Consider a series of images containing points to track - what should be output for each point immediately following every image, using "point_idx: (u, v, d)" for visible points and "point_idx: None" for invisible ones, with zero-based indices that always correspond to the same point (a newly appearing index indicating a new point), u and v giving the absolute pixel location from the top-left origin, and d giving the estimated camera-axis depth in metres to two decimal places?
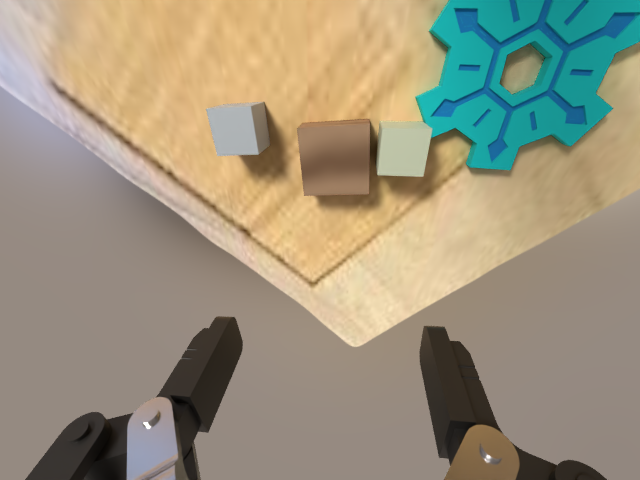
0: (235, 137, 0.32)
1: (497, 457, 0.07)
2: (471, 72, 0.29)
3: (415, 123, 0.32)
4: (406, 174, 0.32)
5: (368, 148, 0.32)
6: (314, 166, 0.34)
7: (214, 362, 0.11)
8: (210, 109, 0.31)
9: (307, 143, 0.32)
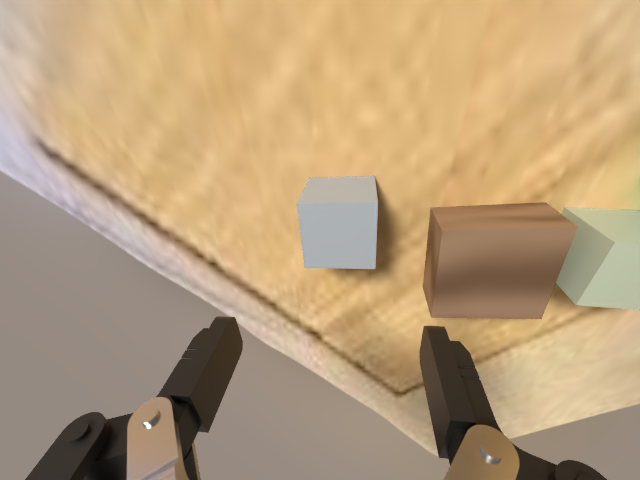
0: (340, 245, 0.19)
1: (497, 457, 0.07)
2: None
3: None
4: (628, 307, 0.19)
5: (562, 260, 0.19)
6: (458, 281, 0.21)
7: (214, 362, 0.11)
8: (304, 204, 0.18)
9: (456, 251, 0.20)
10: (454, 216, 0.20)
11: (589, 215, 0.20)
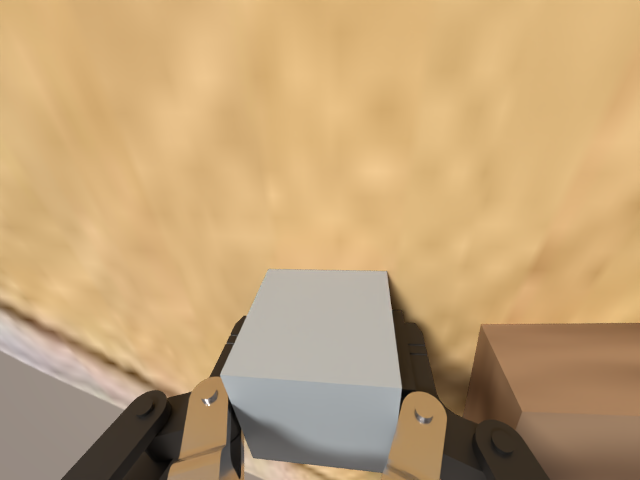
0: (318, 438, 0.09)
1: (427, 417, 0.08)
2: None
3: None
4: None
5: None
6: None
7: None
8: (236, 376, 0.08)
9: (546, 439, 0.10)
10: (534, 357, 0.11)
11: None
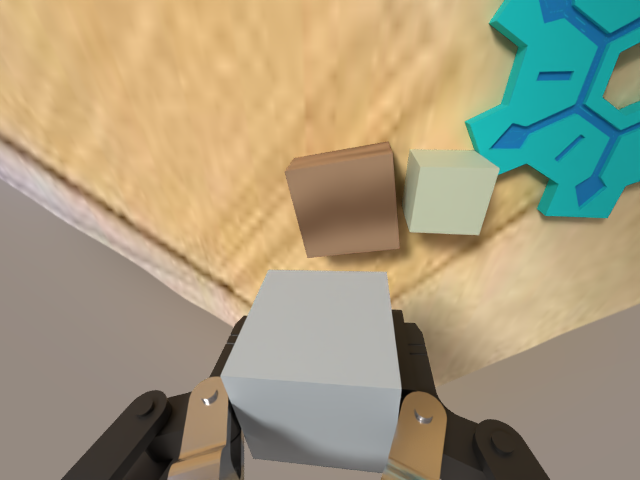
0: (318, 439, 0.09)
1: (427, 417, 0.08)
2: (558, 83, 0.19)
3: (465, 154, 0.22)
4: (453, 232, 0.21)
5: (393, 187, 0.21)
6: (316, 219, 0.23)
7: None
8: (236, 376, 0.08)
9: (303, 189, 0.22)
10: (305, 161, 0.23)
11: (424, 153, 0.22)
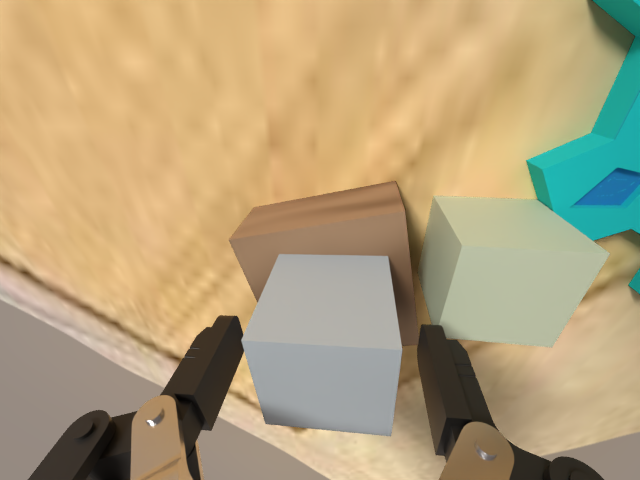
0: (326, 402, 0.10)
1: (492, 453, 0.07)
2: None
3: (527, 211, 0.13)
4: (508, 341, 0.13)
5: (407, 262, 0.13)
6: None
7: (217, 360, 0.11)
8: (255, 341, 0.09)
9: (261, 266, 0.14)
10: (266, 216, 0.15)
11: (458, 206, 0.14)
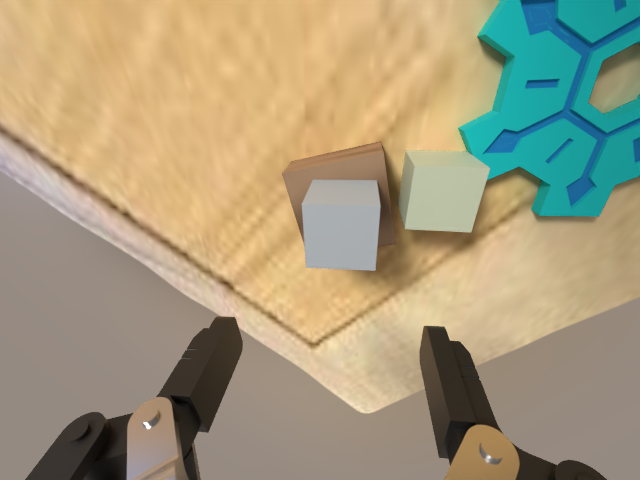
0: (341, 246, 0.20)
1: (497, 457, 0.07)
2: (545, 90, 0.20)
3: (458, 155, 0.22)
4: (446, 229, 0.22)
5: (386, 185, 0.22)
6: None
7: (214, 362, 0.11)
8: (308, 205, 0.18)
9: (300, 190, 0.23)
10: (302, 163, 0.24)
11: (418, 153, 0.23)
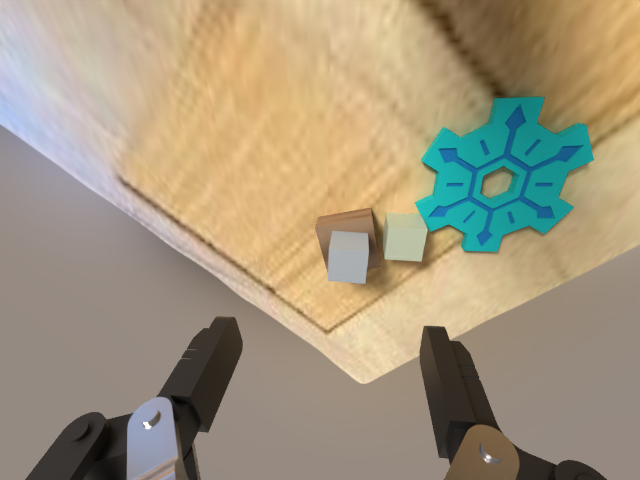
0: (348, 270, 0.37)
1: (497, 457, 0.07)
2: (457, 187, 0.38)
3: (414, 217, 0.40)
4: (407, 259, 0.40)
5: (373, 234, 0.40)
6: None
7: (214, 362, 0.11)
8: (332, 249, 0.36)
9: (325, 236, 0.41)
10: (325, 220, 0.42)
11: (392, 216, 0.41)
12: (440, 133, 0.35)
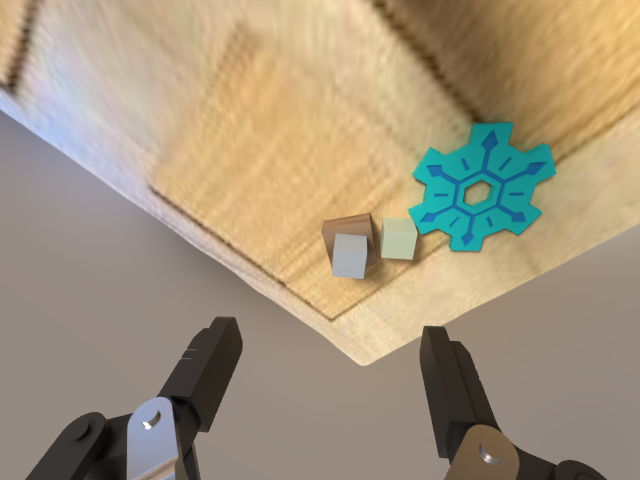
0: (349, 267, 0.44)
1: (497, 457, 0.07)
2: (443, 197, 0.44)
3: (407, 222, 0.47)
4: (400, 258, 0.46)
5: (371, 236, 0.46)
6: None
7: (214, 362, 0.11)
8: (336, 250, 0.43)
9: (330, 238, 0.48)
10: (330, 223, 0.48)
11: (388, 220, 0.47)
12: (427, 152, 0.42)
